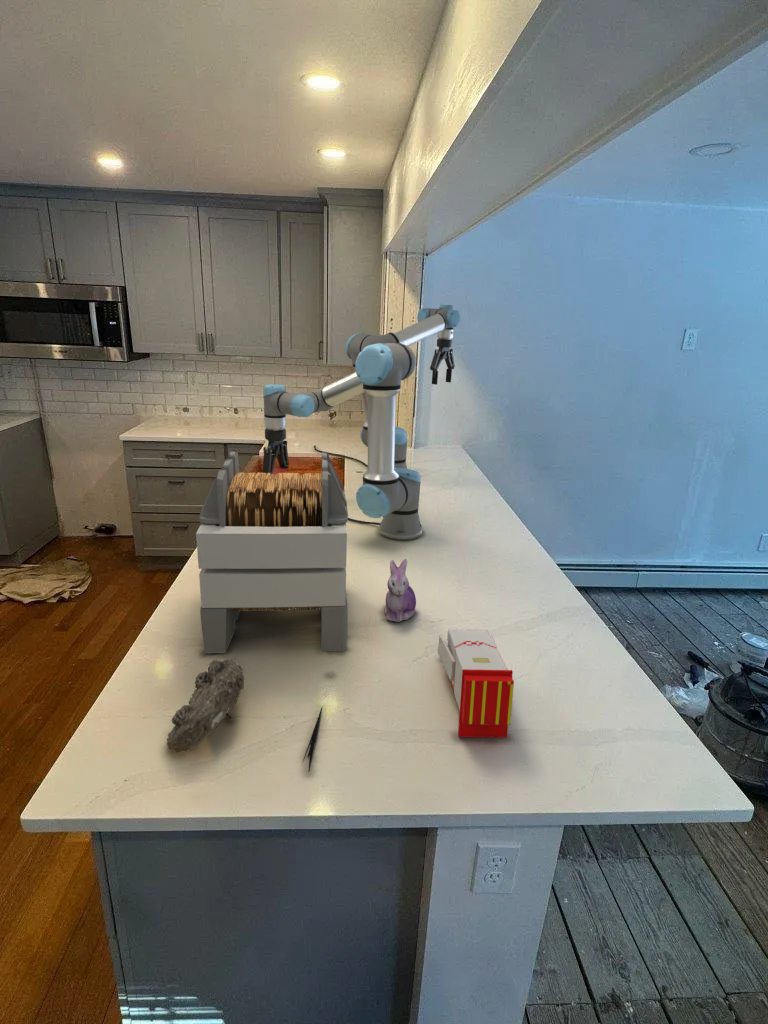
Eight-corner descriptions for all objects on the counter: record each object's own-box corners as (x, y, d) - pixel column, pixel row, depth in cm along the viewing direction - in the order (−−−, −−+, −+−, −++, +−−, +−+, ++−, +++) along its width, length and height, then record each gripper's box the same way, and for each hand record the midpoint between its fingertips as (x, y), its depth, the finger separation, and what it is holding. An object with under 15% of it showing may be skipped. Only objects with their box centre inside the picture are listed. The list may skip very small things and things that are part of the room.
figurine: (392, 627, 141) (395, 572, 136) (374, 608, 149) (376, 556, 144) (425, 619, 145) (429, 566, 140) (405, 601, 154) (408, 550, 149)
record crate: (224, 585, 158) (215, 442, 144) (341, 584, 162) (344, 444, 148) (200, 656, 126) (187, 481, 112) (347, 652, 130) (351, 482, 116)
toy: (488, 613, 130) (523, 677, 101) (484, 667, 133) (517, 744, 104) (435, 612, 130) (455, 676, 101) (432, 666, 133) (451, 743, 103)
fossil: (192, 660, 117) (244, 628, 112) (224, 691, 120) (276, 661, 115) (142, 746, 98) (202, 712, 93) (182, 779, 101) (242, 748, 96)
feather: (331, 679, 122) (336, 673, 122) (307, 777, 96) (313, 769, 95) (324, 675, 122) (329, 669, 121) (298, 772, 95) (304, 764, 95)
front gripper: (279, 422, 214) (281, 479, 222) (250, 432, 196) (253, 495, 203) (297, 424, 212) (298, 482, 220) (270, 434, 193) (271, 497, 201)
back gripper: (438, 339, 263) (435, 386, 270) (463, 338, 282) (460, 382, 289) (424, 338, 267) (421, 384, 274) (450, 337, 286) (447, 380, 293)
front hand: (276, 488), depth 212 cm, fingers closed on can, 8 cm apart
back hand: (441, 383), depth 281 cm, fingers open, 13 cm apart
